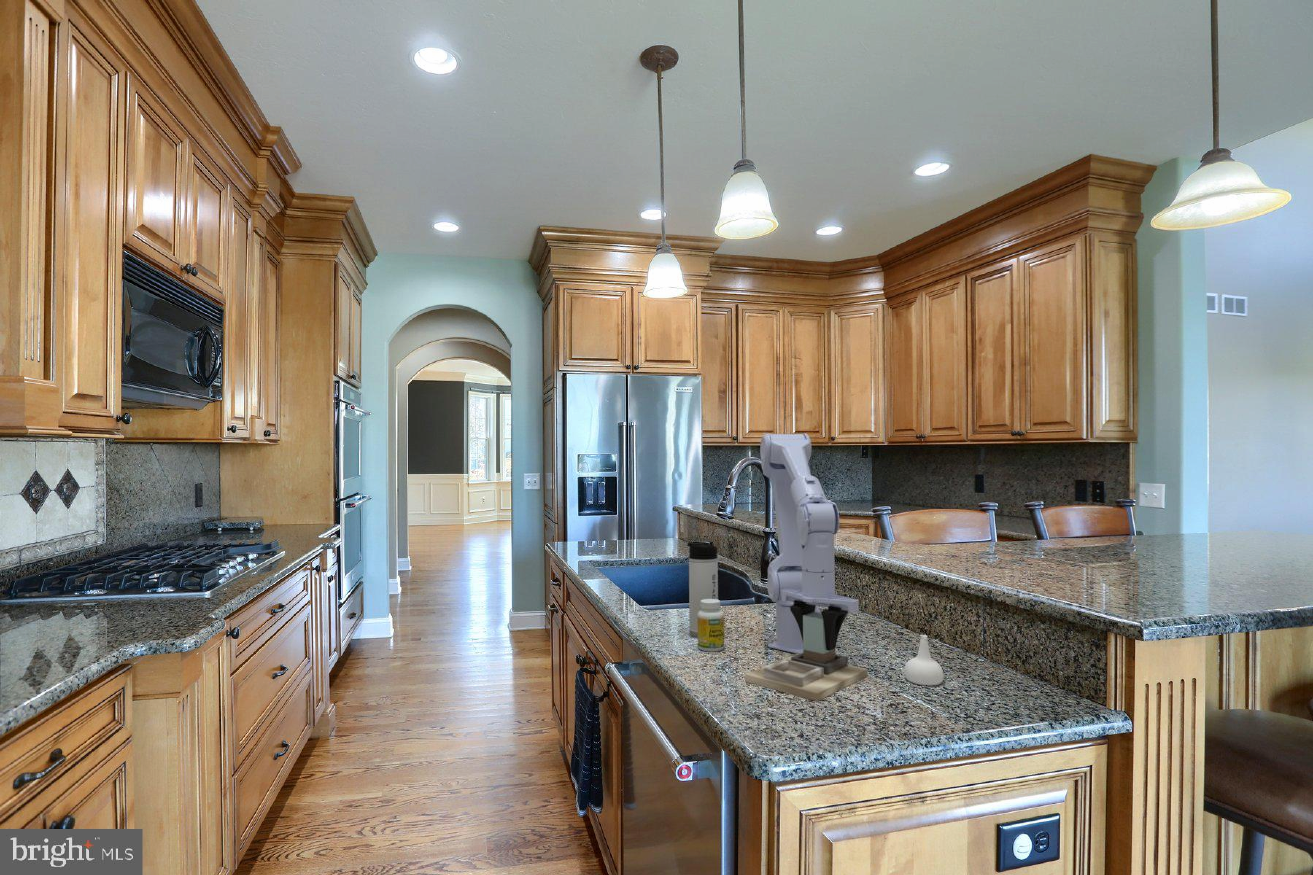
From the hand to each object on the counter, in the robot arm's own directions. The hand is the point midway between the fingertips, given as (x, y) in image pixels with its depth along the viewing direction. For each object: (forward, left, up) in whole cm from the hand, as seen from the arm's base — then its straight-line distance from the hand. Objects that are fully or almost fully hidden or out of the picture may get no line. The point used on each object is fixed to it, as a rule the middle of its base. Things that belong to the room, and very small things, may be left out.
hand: (819, 646), depth 118 cm
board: (+4, 0, -5) cm, 6 cm away
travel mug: (-6, -32, -5) cm, 33 cm away
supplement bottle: (+1, -24, -5) cm, 25 cm away
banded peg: (0, 0, -2) cm, 2 cm away
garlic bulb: (-9, +15, -5) cm, 18 cm away
